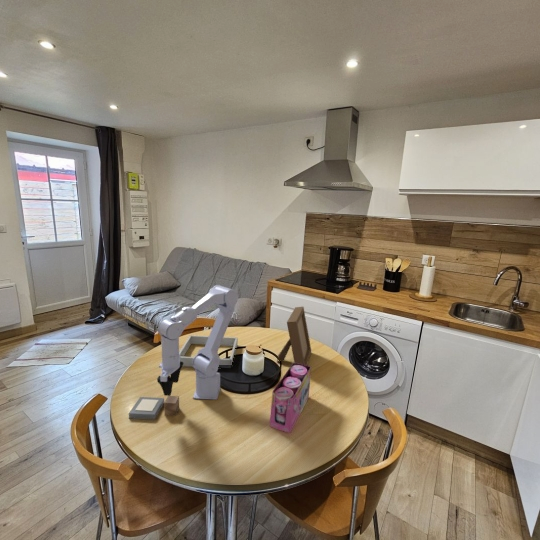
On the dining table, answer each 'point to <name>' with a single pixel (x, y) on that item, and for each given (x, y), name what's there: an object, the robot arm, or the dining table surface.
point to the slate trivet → (146, 408)
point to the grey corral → (202, 340)
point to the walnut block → (171, 405)
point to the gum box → (290, 397)
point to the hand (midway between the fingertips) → (171, 388)
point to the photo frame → (297, 338)
